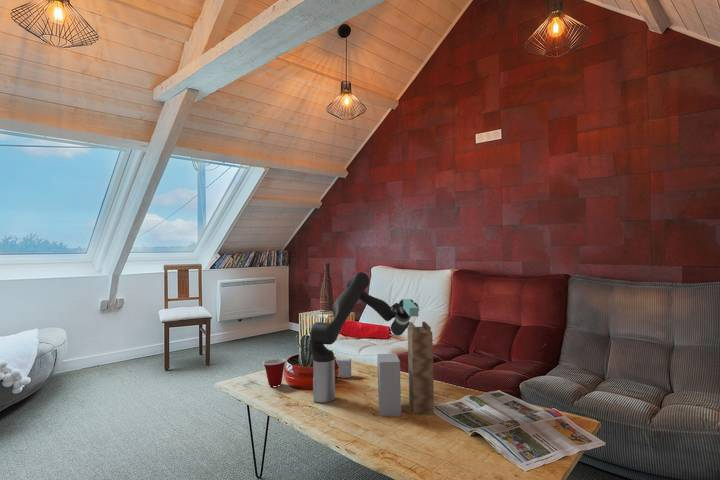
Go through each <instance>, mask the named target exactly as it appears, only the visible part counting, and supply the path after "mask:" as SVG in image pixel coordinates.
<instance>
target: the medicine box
mask: <svg viewBox="0 0 720 480" xmlns="http://www.w3.org/2000/svg"><path fill="white" fill-rule="evenodd" d="M336 359H337V362H338V366H339V377H341V378H342V379H343V378H345V379H346V378H351V377H352V358H336Z"/></svg>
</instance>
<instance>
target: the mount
mask: <svg viewBox="0 0 720 480" xmlns="http://www.w3.org/2000/svg"><path fill="white" fill-rule="evenodd" d="M421 325H422V326H416V325H415V324H414V323H413V322H412V321H409V326H408V327H407V358H408V359H407V361H408V364H407V365H408V399H409V401H408V402H409V405H410V408H411V410H412V413H413V416H424V415H427V416H428V415H435V397H434V396H435V393H434V387H435V385H434V346H433V345H434V343H433V331H432V330H431V329H432V327H431V326H430V325H429V324H428V323H427V322H426V321H422V322H421Z"/></svg>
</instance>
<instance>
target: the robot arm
mask: <svg viewBox="0 0 720 480" xmlns="http://www.w3.org/2000/svg"><path fill="white" fill-rule="evenodd" d="M369 286H370V278H369V275H368V274H367V273H366V272H363V271H359V272H356V273H355V274H354V275H352V276H351V277H350V278H349V279H348V280H347V281H346V287H347V288H345V289H344V290H343V291H342V292H341V293H340V294H339V296H338V297H337V298H336V300H335V301H334V303H333V304H332V307H331V310H332V311H331V312H332V315H333V319H332V321H331V322H320V321H318V322H317V321H316V322H314V323H313V324H312V325H311V328H310V346H311V355H312V367H313V368H312V369H313V370H312V371H313V374H312V375H313V379H312V390H313V391H312V396H313V397H312V400H313V401H314V402H315V403H323V404H324V403H326V404H327V403H330V402H331V403H332V402H333V401H334V400H335V399H336V384H335V383H336V381H335V380H336V378H335V353H334V351H332V350H331V349H329V348H328V347H326V346H325V345H332V344H334V343H335V342H336V340H337V339H338V337H339V335H340V333H341V331H342V328H343V326H344V325H345V322H346V320H347V319H348V318H349V316H350V315H351V313H352V311H353V310H354V308H355V306H356V305H357V303H358V301H359V300H360V301H362V302H363V303H364V304H366V305H367V306H368V307H370V308H372V310H374V311H375V312H376V313H377V314H378V315H379V316H380V317H381V318H382V319H383V320H384V321H385V322H390V321H391V320H393V319H394V320H393V321H392V323H391V324H390V331H391V333H392V334H393V335H394V336H402V335H403V334H404V333H405V332H406V330H408V327H409V322H410V320H411V317H410V316H409V315H408V314H407V313H406V311H405V310H404V309H403V308H402V307H403V300H402V299H400V300H399V302H395V303H393V305H391V306H390V305H389V304H388V303H387V302H386V301H385V300H383V299H380V298H378V297H374V296H373V295H370V294H369V293H367V292H366V291H365V290H366V289H367V288H368V287H369ZM410 301H412V302H413V303H414V304H415V305H416V306H417V307H418V312H419V311H420V309H419V308H420V307H419V305H418V303H417V302H414V300H413V298H412V299H410Z"/></svg>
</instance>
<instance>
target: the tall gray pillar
mask: <svg viewBox="0 0 720 480" xmlns="http://www.w3.org/2000/svg"><path fill="white" fill-rule="evenodd" d="M376 355H377V391H378V392H377V393H378V395H377V396H378V398H377V400H378V401H377V402H378V409H379V414H380V417H392V416H393V417H394V416H395V417H397V416H398V417H399V416H402V391H401V387H402V386H401V385H402V384H401V361H400V359H399V356H398V354H397V353H378V354H376Z"/></svg>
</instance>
